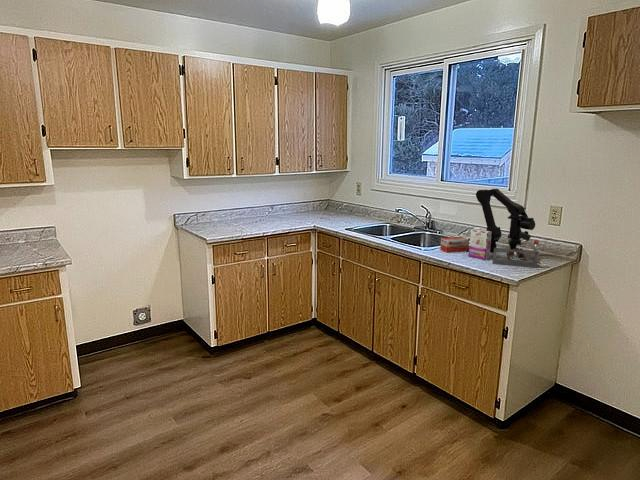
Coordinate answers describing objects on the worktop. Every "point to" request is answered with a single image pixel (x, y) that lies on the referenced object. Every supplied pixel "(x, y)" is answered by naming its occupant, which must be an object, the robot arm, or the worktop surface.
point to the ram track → (534, 259)
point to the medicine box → (454, 244)
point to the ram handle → (535, 247)
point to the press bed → (515, 262)
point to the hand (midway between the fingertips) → (512, 253)
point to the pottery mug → (520, 255)
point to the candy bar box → (480, 244)
